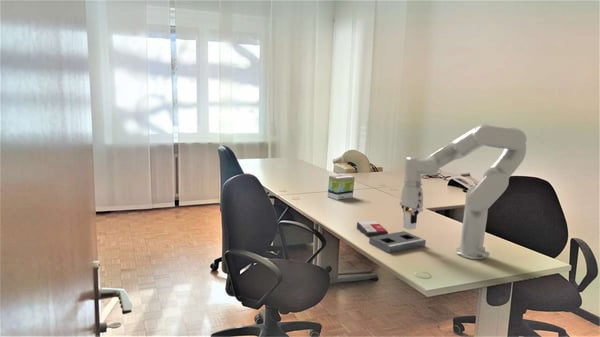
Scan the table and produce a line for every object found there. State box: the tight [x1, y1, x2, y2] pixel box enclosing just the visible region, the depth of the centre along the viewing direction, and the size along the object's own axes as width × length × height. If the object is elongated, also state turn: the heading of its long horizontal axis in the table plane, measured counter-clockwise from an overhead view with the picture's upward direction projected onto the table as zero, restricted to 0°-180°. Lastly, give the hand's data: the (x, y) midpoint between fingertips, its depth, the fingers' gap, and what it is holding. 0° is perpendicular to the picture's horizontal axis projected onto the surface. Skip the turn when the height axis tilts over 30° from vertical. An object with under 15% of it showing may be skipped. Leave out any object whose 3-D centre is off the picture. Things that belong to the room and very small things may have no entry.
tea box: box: [327, 173, 355, 201], centre depth 283 cm, size 15×10×15 cm, turn 129°
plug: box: [403, 209, 417, 231], centre depth 198 cm, size 4×4×8 cm
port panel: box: [368, 230, 427, 255], centre depth 197 cm, size 14×22×4 cm, turn 120°
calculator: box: [356, 221, 389, 238], centre depth 215 cm, size 11×4×15 cm
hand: (409, 221), depth 198 cm, fingers closed on plug, 4 cm apart
